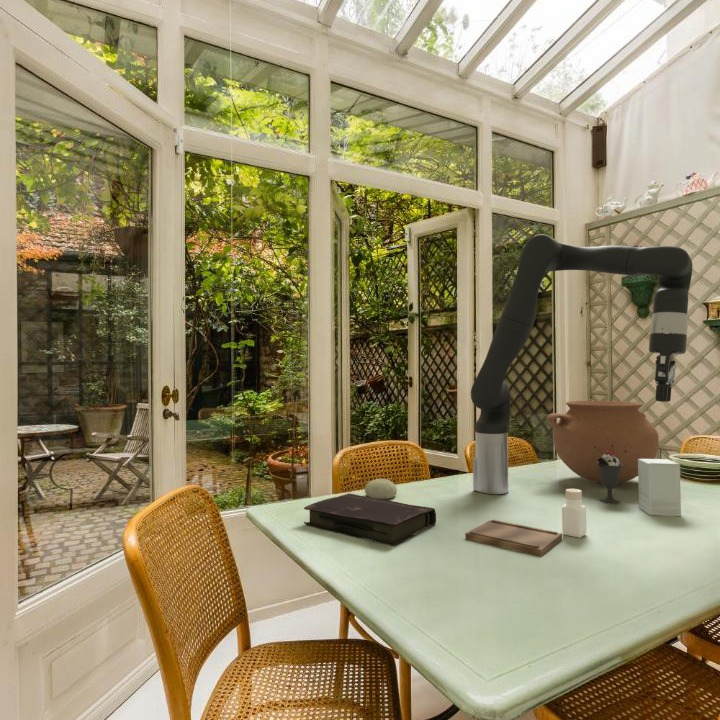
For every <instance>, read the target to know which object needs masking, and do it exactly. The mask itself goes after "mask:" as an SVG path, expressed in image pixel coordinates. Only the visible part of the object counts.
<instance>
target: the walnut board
mask: <svg viewBox="0 0 720 720" xmlns="http://www.w3.org/2000/svg"><path fill="white" fill-rule="evenodd" d="M464 535H465V536H464V537H465V540H467V541H468V540H469V541H473V542H477V543H481V544H486V545H490V546H495V547H499V548H504V549H508V550H512V551H516V552H520V553H521V552H522V553H525V554H530V555H534V556H539V557H542V556H543V555H545V554H546V553H548V551H550V550H551V549H553V548H554V547H555V546H556V545H557V544H559V543H560V542H561V541H562V540H563V533H558V532H557V531H554V530H553V531H552V530H548V529H543V528H537V527H532V526H527V525H523V524H518V523H512V522H507V521H501V520H496V519H490V520H488V521H486V522H484V523H482V524H480V525H478V526H476V527H475V528H473V529H471V530H469V531H467V532H465V534H464ZM558 542H559V543H558Z"/></svg>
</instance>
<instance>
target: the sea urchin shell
mask: <svg viewBox="0 0 720 720" xmlns="http://www.w3.org/2000/svg"><path fill="white" fill-rule="evenodd" d="M364 493H365V494H366V497H368V498H376V499H383V500H390V498H391V499H393V498H394V497H395V496H396V495H397V493H398V489H397V486H396V484H394V482H393V481H391V480H389V479H387V478H376V479H372V480H370V481H369V482H367V484H366V485H365V488H364Z"/></svg>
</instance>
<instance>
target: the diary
mask: <svg viewBox="0 0 720 720" xmlns="http://www.w3.org/2000/svg"><path fill="white" fill-rule="evenodd" d="M303 510H307V511H308V512H309V521H308V522H306V521H303V524H305V525H306V526H307V527H311V528H315V529H318V530H322V531H326V532H330V533H331V532H332V533H336V534H340V535H346V536H348V537H353V538H357V539H366V540H370V541H373V542H376V543H379V544H383V545H387V546H390V547H394V548H395V547H396V546H399V545H401V544H402V543H405V542H406V541H407V540H410V539H412V538H413V537H416V535H415V534H416V533H418V532H420V531H421V530H424V529H426V528H432V527H431V526H436V522H437V513H436V509H435V508H434V507H428V506H421V505H414V504H407V503H403V502H399V501H393V500H390V499H376V498H370V497H369V496H364V495H360V494H354V493H351V492H350V493H346V494H342V495H339V496H335V497H329V498H326V499H323V500H319V501H316V502H313V503H311V504H308V505H306V506H304V507H303Z"/></svg>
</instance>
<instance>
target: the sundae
mask: <svg viewBox="0 0 720 720" xmlns="http://www.w3.org/2000/svg"><path fill="white" fill-rule="evenodd" d="M613 446H614V445H611V448H613ZM610 450H611V449H610ZM610 450H609V451H610ZM609 451H606V453H605V454H603V455H602V457H601V458H599V459H597V461H598V462H597V463H596V464H597V465H598V466H599V471H600V478H601V482H602V485H603V486H604V487H605V488H606V489H607V490H606V491H607V495H606V497H605V498H600V499H599V502H601V503H603V502H604V504H608V503H610V504H609V505H617V504H618V503H619V504H620V503H621V501H620V500H618V499H615V497H614V496H613V490H614V489H615V488H616V487H617V486H618V485H619V483H618V481H619V474H620V468H621V467H622V466H623V464H622V463H619V460H618V459H617V458H616V457H615V456H616V455H615V454H614V451H613V453H610V452H609Z"/></svg>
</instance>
